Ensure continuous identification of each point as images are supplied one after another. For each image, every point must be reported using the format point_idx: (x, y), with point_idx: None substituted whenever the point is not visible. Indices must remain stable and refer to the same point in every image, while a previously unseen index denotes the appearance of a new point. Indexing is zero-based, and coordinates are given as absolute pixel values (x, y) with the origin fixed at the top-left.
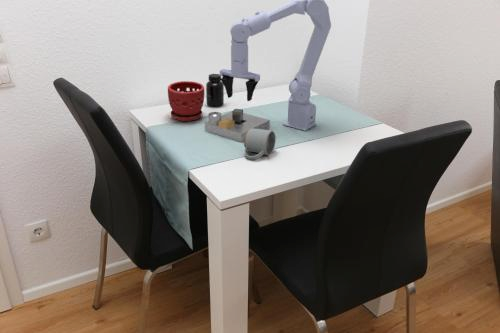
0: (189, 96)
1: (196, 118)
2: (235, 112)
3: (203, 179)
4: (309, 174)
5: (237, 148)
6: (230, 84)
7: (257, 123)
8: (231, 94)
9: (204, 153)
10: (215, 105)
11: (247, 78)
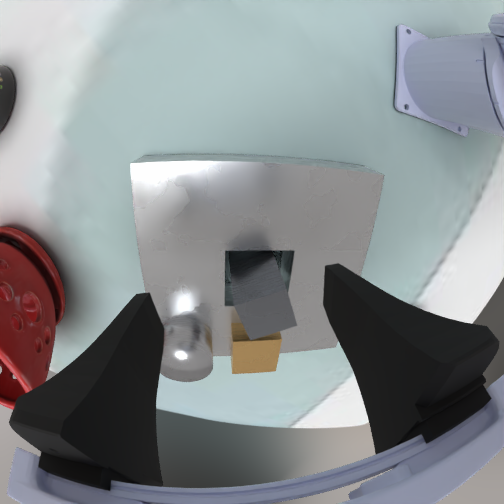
0: None
1: (63, 289)
2: (267, 331)
3: (324, 426)
4: None
5: (330, 353)
6: (131, 399)
7: (352, 246)
8: (149, 314)
9: (272, 400)
10: (2, 123)
11: (392, 463)
